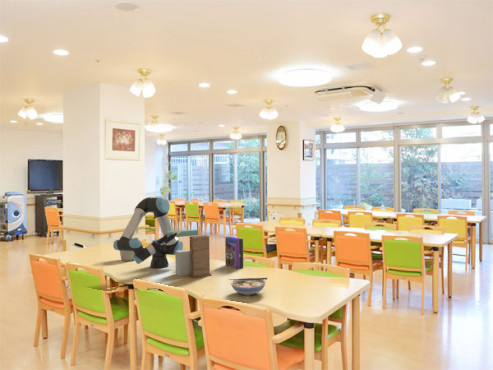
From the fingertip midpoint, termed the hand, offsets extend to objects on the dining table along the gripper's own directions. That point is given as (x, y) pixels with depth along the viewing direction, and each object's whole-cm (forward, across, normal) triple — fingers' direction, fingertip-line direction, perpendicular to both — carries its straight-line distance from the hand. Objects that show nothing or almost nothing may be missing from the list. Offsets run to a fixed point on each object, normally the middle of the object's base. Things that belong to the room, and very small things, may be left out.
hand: (178, 230), depth 309 cm
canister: (-33, -78, -20) cm, 87 cm away
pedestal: (-6, +11, -36) cm, 38 cm away
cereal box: (+25, -1, -54) cm, 59 cm away
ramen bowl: (-1, +72, -39) cm, 82 cm away
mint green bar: (+1, 0, -6) cm, 6 cm away
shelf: (-9, 0, -34) cm, 35 cm away
